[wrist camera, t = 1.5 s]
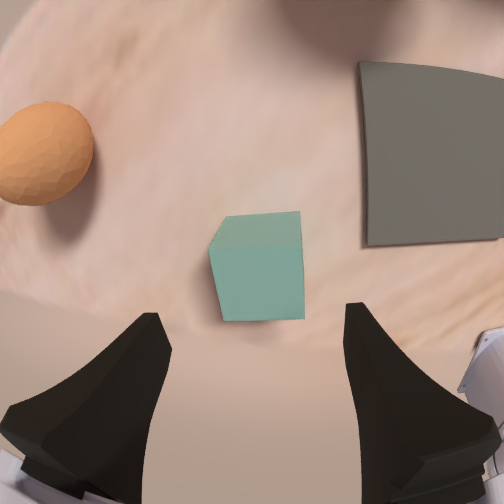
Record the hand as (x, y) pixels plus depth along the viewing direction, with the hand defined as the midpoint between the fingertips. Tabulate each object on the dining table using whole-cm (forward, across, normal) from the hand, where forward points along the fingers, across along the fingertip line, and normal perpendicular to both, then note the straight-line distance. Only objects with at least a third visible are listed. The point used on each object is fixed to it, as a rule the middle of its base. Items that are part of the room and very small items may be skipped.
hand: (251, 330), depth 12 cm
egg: (+12, +13, -8) cm, 19 cm away
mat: (+10, -13, -4) cm, 17 cm away
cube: (+11, 0, +2) cm, 11 cm away
